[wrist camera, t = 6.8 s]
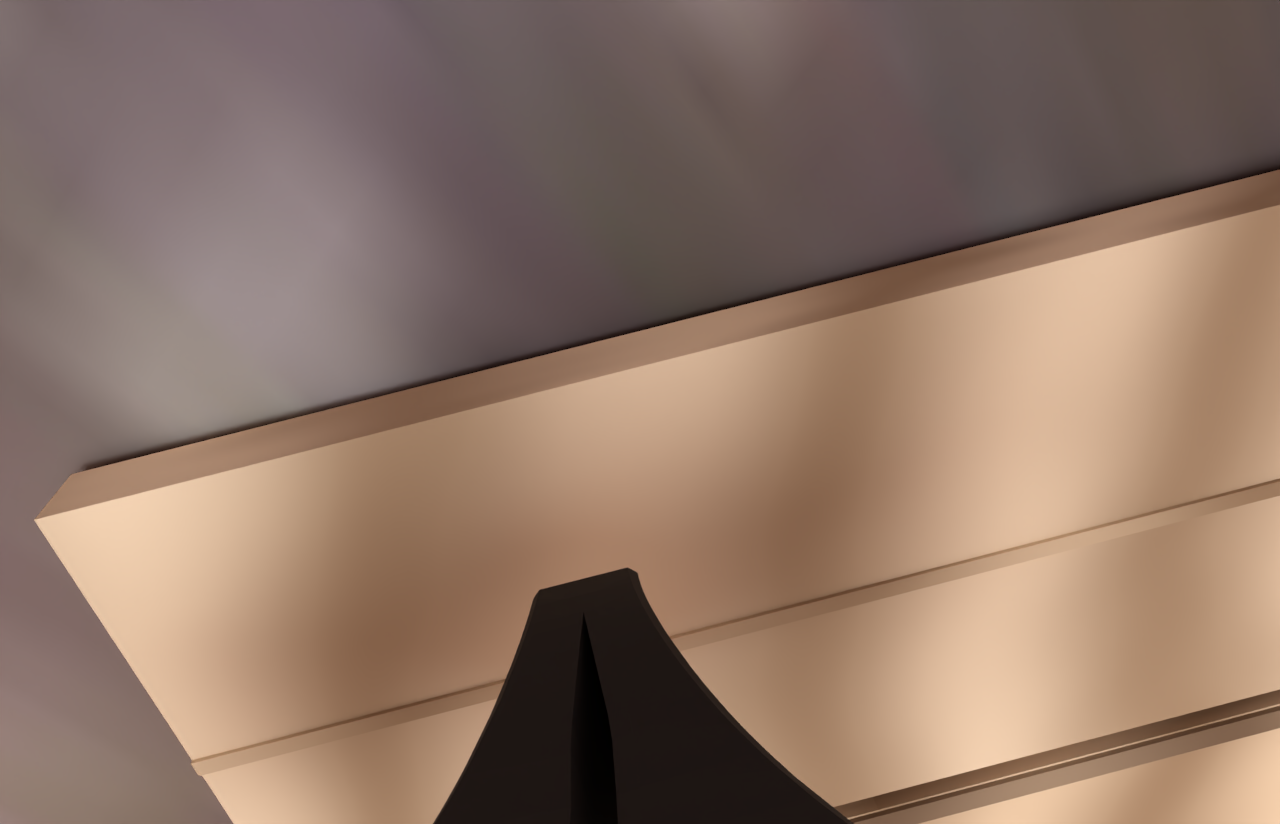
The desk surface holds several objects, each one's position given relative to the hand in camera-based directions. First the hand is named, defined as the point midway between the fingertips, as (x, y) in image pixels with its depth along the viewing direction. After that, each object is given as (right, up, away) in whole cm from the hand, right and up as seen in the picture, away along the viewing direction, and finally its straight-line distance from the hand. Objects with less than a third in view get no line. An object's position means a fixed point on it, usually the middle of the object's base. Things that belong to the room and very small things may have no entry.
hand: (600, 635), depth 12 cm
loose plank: (+4, +1, +4) cm, 5 cm away
